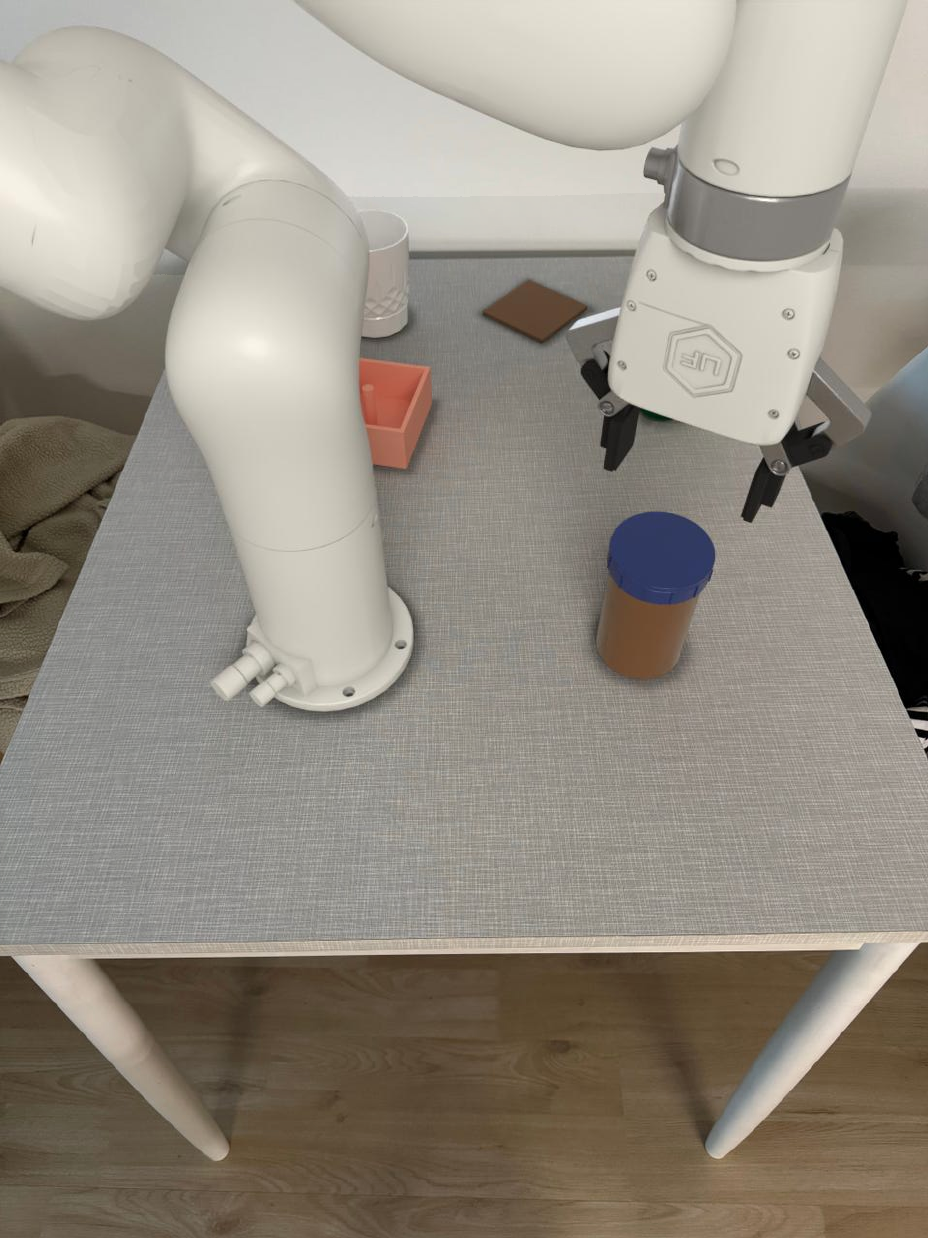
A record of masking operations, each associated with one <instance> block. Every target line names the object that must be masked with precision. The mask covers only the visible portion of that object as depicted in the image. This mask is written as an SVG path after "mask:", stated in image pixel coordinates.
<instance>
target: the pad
mask: <svg viewBox="0 0 928 1238" xmlns="http://www.w3.org/2000/svg"><path fill="white" fill-rule="evenodd" d="M586 310H588V305H587V304H584V303H582V302H580V301H578V300H575V299H573V298H571V297H569V296H567V295H564V294H562V293H560V292H557V291H555V290H553V289H550V288H549V287H546V286H544V285H542V284H539V283H537V282H535V281H533V280H530V279H528V280H526V281H525V282H523V283H522V284H520V285H519V286H518V287H516V288H515V289H513V290H512V291H510V292H509V293H508V294H506V295H504V296H503V297H501V298H500V299H499V300H497V301H495V302H494V303H493V304H491V305H490V306H489V307H487V308H486V309H484V310H483V311H482V315H483V316H485V317H487V318H489V319H492V320H494V321H495V322H497V323H500V324H502V325H504V326H506V327H508V328H510V329H513V330H514V331H516V332H519V333H520V334H523V335H525V336H526V337H529V338H531V339H533V340H535V341H537V342H539V343H541V344H543V343H545V341H547V340H549V338H551V337H552V336H553V335H555V334H556V333H558V332H559V331H560V330H561V329H563V328H564V327H565V326H567V325H568V324H569V323H571V322H572V321H574V320H575V319H576V318H577V317H579V316H580V315H581V314H583V313H584V312H586Z"/></svg>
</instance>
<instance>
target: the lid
mask: <svg viewBox="0 0 928 1238" xmlns="http://www.w3.org/2000/svg"><path fill="white" fill-rule="evenodd" d="M715 562H716V549H715V545H714V543H713V541H712V539H711V537H710V535H709V534H708V533H707V532H706V531H705V530H704V529H703V527H701V526H700V525H699V524H697V523H696V522H694V521H693V520H691V519H689V518H687V517H685V516H683V515H680V514H677V513H673V512H667V511H657V510H656V511H645V512H640V513H636V514H633V515H631V516H629V517H627V518H625V519H624V520H622V521H621V522H620V523H619V524H618V525H617V526H616V527H615V529H614V530H613V532H612V534H611V537H610V539H609V545H608V552H607V556H606V569H608V573H610V575H611V577H612V579H613V580H614V582H615V583H616V584H617V585H618V587H619V588H621V589H622V590H623V591H624V592H626V593H627V594H629V595H630V596H632V597H634V598H636V599H639V600H641V601H644V602H648V603H652V604H660V605H671V604H678V603H682V602H685V601H688V600H690V599H692V598H695V597H696V596H697V595H698V594H699V593H700V594H701V593H702V592H703V591H704V590H705V588H706V586H707V585H708V583H709V582H710V581H711V579H712V576H713V573H714V566H715Z"/></svg>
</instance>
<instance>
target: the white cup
mask: <svg viewBox="0 0 928 1238" xmlns="http://www.w3.org/2000/svg"><path fill="white" fill-rule="evenodd" d="M357 211H358V213H359V215H360V217H361V219H362V222H363V224H364V227H365V230H366V234H367V237H368V243H369V254H370V262H369V278H368V285H367V292H366V299H365V306H364V321H363V328H362V335H361V337H363V338H364V337H365V338H372V339H378V338H386V337H390V336H392V335H395V334H396V333H399V332H401V331H402V330H403V329H404V327H405V326H407V324H408V321H409V298H410V237H409V236H410V235H409V232H410V231H409V230H410V228H409V225H408V223H407V221H406V220H405V219H404V218H403V217H402V216H400V215H398V214H396V213H394V212H391V211H388V210H382V209H381V210H380V209H361V210H357Z"/></svg>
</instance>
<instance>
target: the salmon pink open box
mask: <svg viewBox="0 0 928 1238" xmlns="http://www.w3.org/2000/svg"><path fill="white" fill-rule="evenodd" d="M431 371H432V370H431V366H425V365H417V364H411V363H403V362H395V361H388V360H379V359H373V358H364V357H359V390H360V402H361V409H362V414H363V419H364V423H365V426H366V430H367V435H368V439H369V444H370V450H371V457H372V463H373V465H377V466H383V467H390V468H394V469H395V468H396V469H402V470H407V469H408V466H409V464H410V462H411V459H412V457H413V453H414V451H415V449H416V446H417V443H418V440H419V438H420V436H421V433H422V431H423V428H424V427H425V426H424V425H425V423H426V420H427V418H428V415H429V413H430V410H431V407H432V405H433V394H432V393H433V392H432V372H431Z"/></svg>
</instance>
